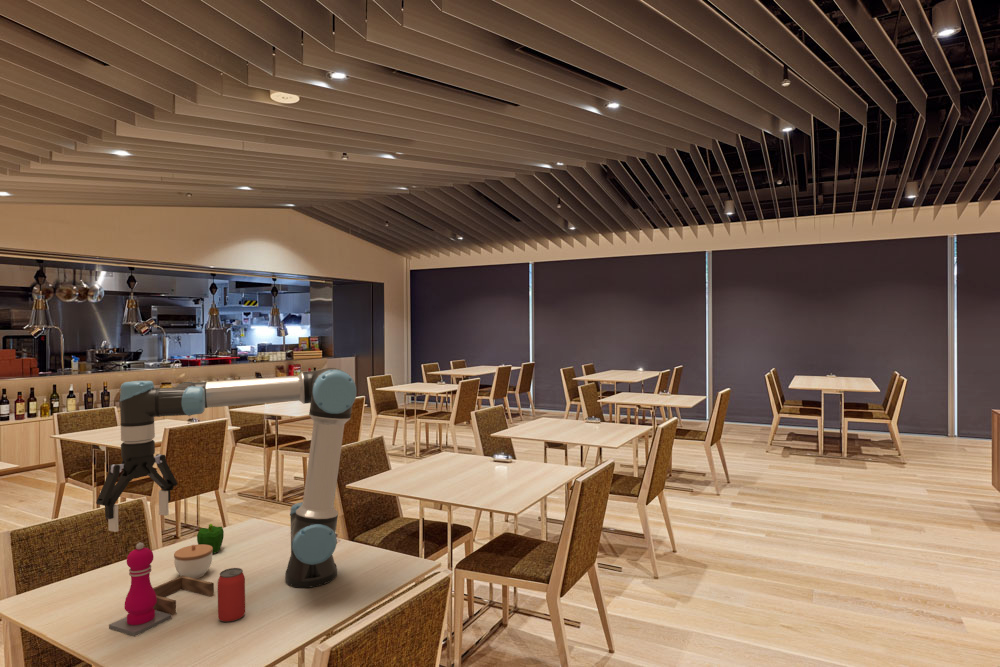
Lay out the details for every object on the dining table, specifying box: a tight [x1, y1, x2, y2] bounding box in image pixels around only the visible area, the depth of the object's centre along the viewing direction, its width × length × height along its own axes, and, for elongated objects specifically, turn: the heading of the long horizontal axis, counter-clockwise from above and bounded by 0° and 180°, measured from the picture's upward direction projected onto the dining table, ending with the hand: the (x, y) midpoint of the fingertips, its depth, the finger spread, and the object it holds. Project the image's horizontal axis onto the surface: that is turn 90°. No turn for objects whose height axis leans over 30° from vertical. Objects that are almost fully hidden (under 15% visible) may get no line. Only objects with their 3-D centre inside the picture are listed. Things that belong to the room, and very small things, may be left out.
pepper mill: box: [124, 542, 157, 625], centre depth 156 cm, size 7×7×20 cm
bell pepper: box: [196, 523, 225, 554], centre depth 206 cm, size 8×8×10 cm
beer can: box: [217, 567, 246, 623], centre depth 159 cm, size 7×7×12 cm
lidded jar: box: [173, 544, 213, 579], centre depth 186 cm, size 11×11×9 cm
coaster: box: [108, 610, 173, 637], centre depth 156 cm, size 10×10×1 cm
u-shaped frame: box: [153, 575, 215, 616], centre depth 169 cm, size 13×13×4 cm
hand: (139, 522), depth 156 cm, fingers open, 13 cm apart
